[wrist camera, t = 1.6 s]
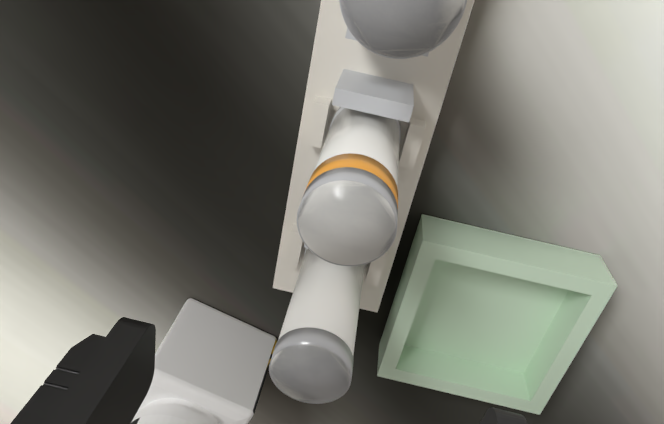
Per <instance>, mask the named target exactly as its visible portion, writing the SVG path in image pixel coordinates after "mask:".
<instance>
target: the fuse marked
mask: <svg viewBox="0 0 664 424" xmlns="http://www.w3.org/2000/svg"><path fill="white" fill-rule="evenodd" d="M400 136H401V125H400V120H396V119H391V118H387V117H383V116H378V115H374V114H370V113H365V112H361V111H357V110H352V109H348V108H343V107H339V108H338V109H337V111H336V113H335V115H334V117H333V119H332V122H331V125H330V129H329V133H328V135H327V138H326V141H325V143H324V146H323V148H322V151H321V154H320V156H319V159H318V162H317V164H316V167H315V170H314V172H313V173H312V175H311V177H310V179H309V182H308V185H307V187H306V190H305V192H304V195H303V198H302V200H301V203H300V205H299V208H298V212H297V228H298V232H299V235H300V237H301V239H302V241H303V242H304V244H305V245H306V246H307V248H308V249H309V250H310V251H311V252H312V253H314V254H315V255H316V256H318V257H319V258H321V259H323V260H325V261H327V262H329V263H332V264H336V265H341V266H359V265H364V264H368V263H370V262H373V261H375V260H376V259H378V258H380V257H381V256H382V255H384V254H385V253H386V252H387V251H388V249H389V248H390V247H391V245H392V243H393V242H394V239H395V237H396V233H397V220H398V189H397V186H398V161H399V144H400Z"/></svg>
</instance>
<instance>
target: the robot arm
mask: <svg viewBox="0 0 664 424" xmlns="http://www.w3.org/2000/svg"><path fill="white" fill-rule="evenodd" d="M155 332H156V330H155V325H154V324H150V323H146V322H141V321H137V320H133V319H129V318H125V317H123V318H121V319H119V320H118V322H117V323H116V324H115V325H114V327H113V328H112V329H111V331H110V332H109V334H108V335H107V336H106V337H103V336H99V335H95V334H92V335H90V336H89V337H87V338H86V339H84V340H83V341H81V342H80V343H78V344H77V345H75V346H73V347H72V348H71V349H70V350H69V351H68V353H67V354H66V355H65V356H64V358H63V359H62V360H61V361H60V363H59V364H58V365H57V367H56V370H53V371H52V373H51V374H50V375H49V376H48V378H47V379H46V380H45V381H44V385H43V386H42V385H41V386H40V388H39V389H38V390H37V391H36V393H35V394H34V395H33V396H32V398H31V399H30V400H29V401H28V403H27V404H26V405H25V406H24V408H23V409H22V410H21V411H20V413H19V414H18V415H17V416H16V417H15V419H14V420H13V421H12V422H11V424H131V422H132V420H133V418H134V416H135V415H136V413H137V411H138V409H139V407H140V406H141V404H142V402H143V400H144V399H145V397H146V395H147V393H148V391H149V388H150V386H151V383H152V379H153V375H154V370H155ZM480 424H527V421H526V419H525V417H524V416H523V415H521V414H517V413H513V412H509V411H505V410H501V409H497V408H493V407H490V408H488V409H487V411H486V413H485V415H484V416H483V418H482V420H481V422H480Z"/></svg>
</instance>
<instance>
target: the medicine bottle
mask: <svg viewBox="0 0 664 424" xmlns="http://www.w3.org/2000/svg"><path fill="white" fill-rule="evenodd" d="M276 342H277V339H276V337H275V336H273V335H271V334H269V333H266V332H264V331H262V330H260V329H258V328H255V327H253V326H251V325H249V324H247V323H245V322H242V321H240V320H238V319H236V318H234V317H232V316H229V315H227V314H225V313H223V312H221V311H219V310H216V309H214V308H212V307H210V306H208V305H206V304H203V303H201V302H199V301H197V300H195V299H192V298H189V299H188V300H187V301H186V302H185V304H184V305H183V307H182V309H181V310H180V312H179V314H178V315H177V317H176V319H175V321H174V322H173V324H172V326H171V327H170V329H169V331H168V333H167V334H166V336H165V338H164V339H163V341H162V343H161V344H160V346H159V348H158V350H157V351H156V353H155V370H154V375H153V379H152V383H151V386H150V388H149V391H148V393H147V395H146V397H145V399H144V400H143V402H142V404H141V406H140V407H139V409H138V411H137V413H136V415H135V416H134V418H133V420H132V422H131V424H248V423H249V422H250V420H251V418H252V417H253V415H254V412H255V409H256V406H257V403H258V399H259V396H260V393H261V390H262V387H263V384H264V380H265V377H266V374H267V371H268V368H269V364H270V361H271V358H272V355H273V351H274V348H275V345H276Z"/></svg>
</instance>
